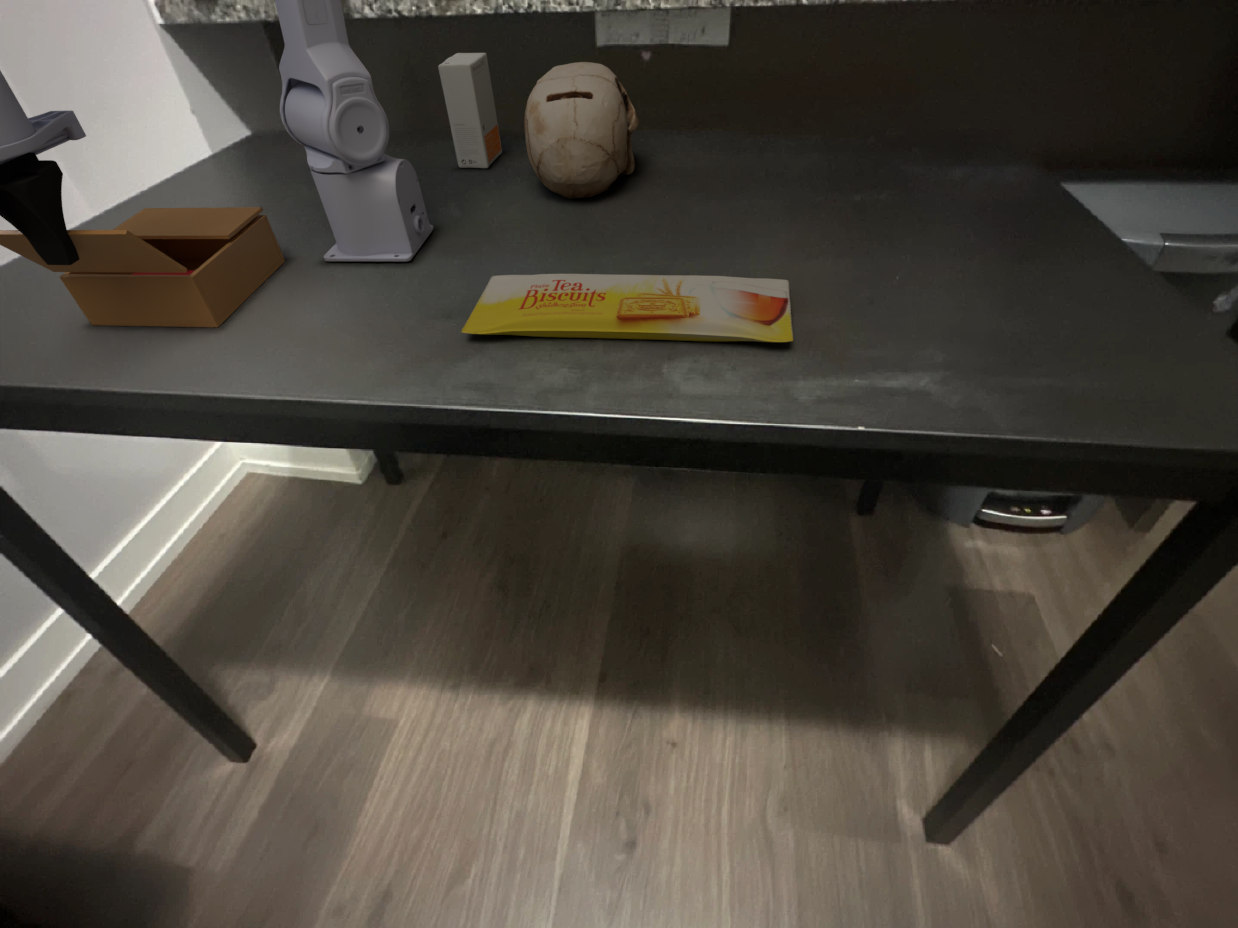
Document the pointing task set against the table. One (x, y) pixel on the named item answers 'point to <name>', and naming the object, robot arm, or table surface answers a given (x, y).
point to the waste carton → (198, 240)
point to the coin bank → (579, 129)
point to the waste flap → (100, 252)
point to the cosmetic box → (471, 109)
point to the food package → (635, 307)
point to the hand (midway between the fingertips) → (64, 262)
